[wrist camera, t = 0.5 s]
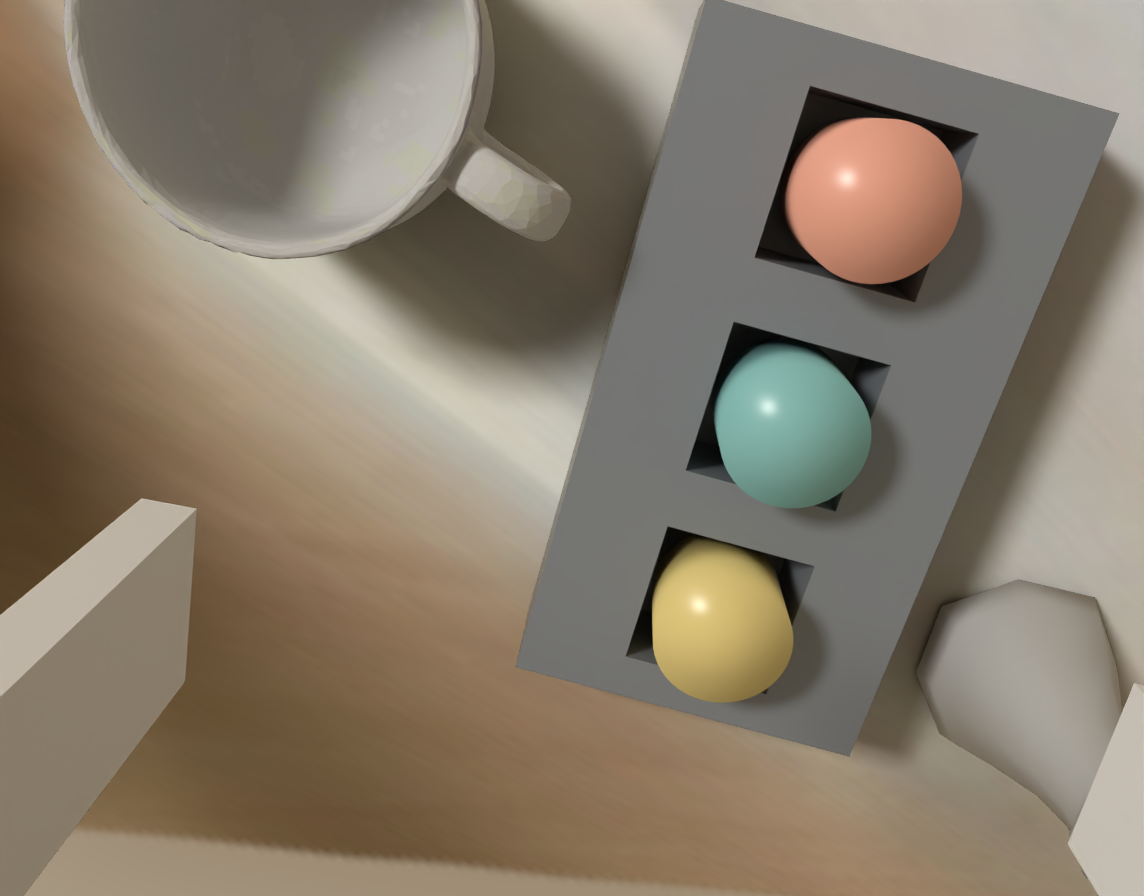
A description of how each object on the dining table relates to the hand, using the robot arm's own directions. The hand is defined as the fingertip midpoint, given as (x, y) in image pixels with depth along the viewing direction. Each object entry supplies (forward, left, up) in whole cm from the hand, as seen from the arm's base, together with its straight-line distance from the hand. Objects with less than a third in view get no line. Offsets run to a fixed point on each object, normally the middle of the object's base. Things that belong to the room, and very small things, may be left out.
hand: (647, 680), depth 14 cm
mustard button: (+5, -8, -20) cm, 22 cm away
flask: (+17, -8, -23) cm, 30 cm away
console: (+5, -1, -23) cm, 23 cm away
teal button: (+5, -1, -20) cm, 21 cm away
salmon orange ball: (+5, +7, -20) cm, 22 cm away
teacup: (-10, +5, -23) cm, 26 cm away
